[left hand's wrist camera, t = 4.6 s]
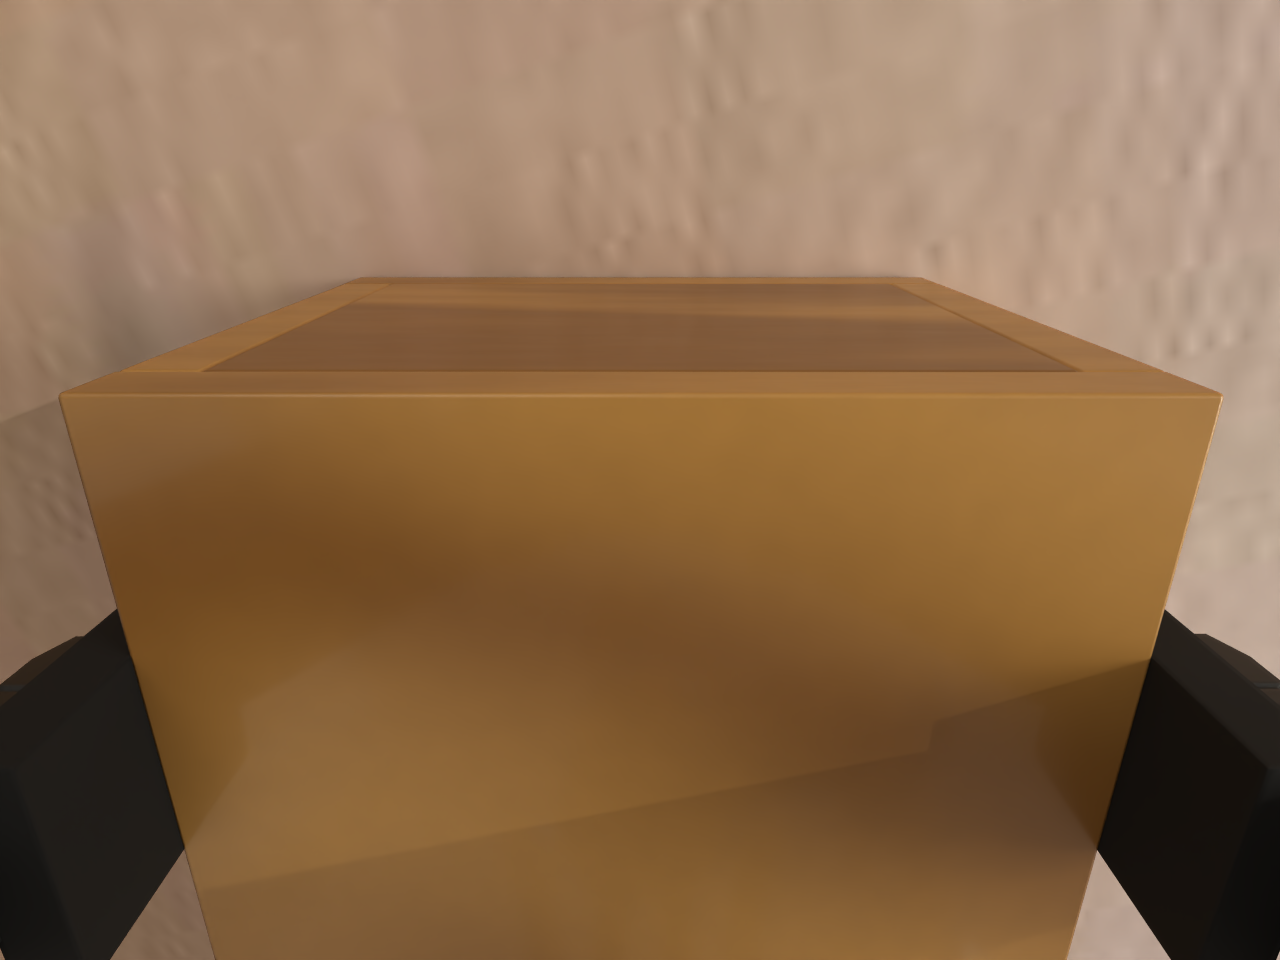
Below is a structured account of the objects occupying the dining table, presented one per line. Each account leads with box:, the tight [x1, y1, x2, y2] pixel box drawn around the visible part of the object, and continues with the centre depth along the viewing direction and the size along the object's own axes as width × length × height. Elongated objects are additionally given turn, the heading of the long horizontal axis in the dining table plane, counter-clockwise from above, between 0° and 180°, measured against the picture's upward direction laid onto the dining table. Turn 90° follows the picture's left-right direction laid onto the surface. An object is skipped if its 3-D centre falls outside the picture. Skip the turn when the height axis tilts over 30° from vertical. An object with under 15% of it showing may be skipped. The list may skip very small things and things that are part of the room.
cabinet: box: [59, 278, 1223, 960], centre depth 15 cm, size 22×11×8 cm, turn 0°
